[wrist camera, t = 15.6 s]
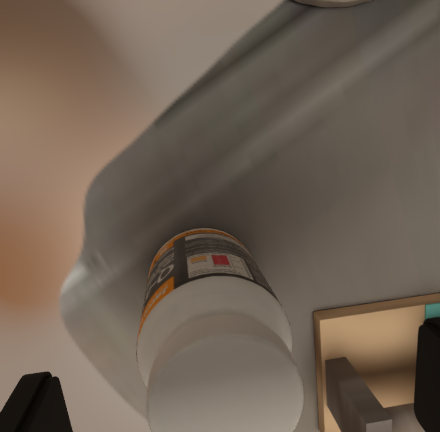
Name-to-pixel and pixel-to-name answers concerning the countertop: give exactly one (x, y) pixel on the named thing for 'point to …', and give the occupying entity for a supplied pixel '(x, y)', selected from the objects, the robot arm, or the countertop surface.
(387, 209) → the countertop surface
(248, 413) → the pill bottle
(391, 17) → the countertop surface
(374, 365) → the rail
